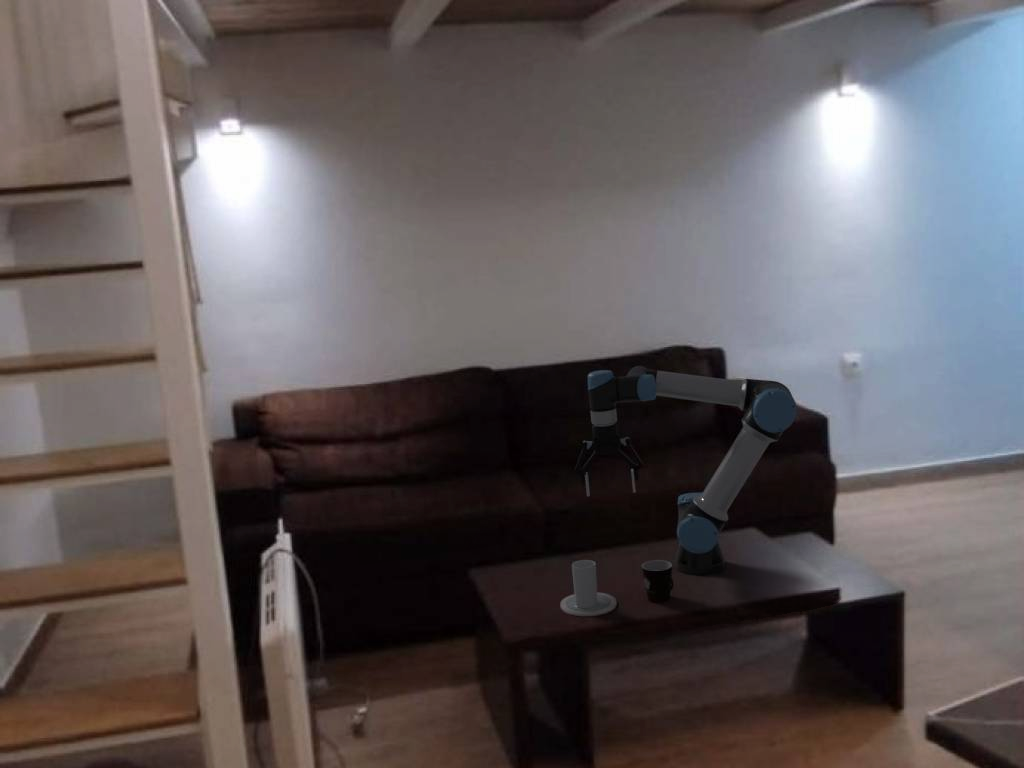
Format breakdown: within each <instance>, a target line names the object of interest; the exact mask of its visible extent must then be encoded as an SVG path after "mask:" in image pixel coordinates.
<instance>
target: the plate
mask: <svg viewBox="0 0 1024 768" xmlns="http://www.w3.org/2000/svg"><path fill="white" fill-rule="evenodd" d="M617 605H618V604H617V599H616V598H615V597H614V596H612V595H611V594H608V593H604V592H598V591H597V605H596V606H595V607H592V608H579V607H577V606H576V603H575V594H571V595H568V596H566V597H565V598H563V599H562V600H561V601H560V610H561V611H562V612H563V613H566V614H567V615H570V616H575V617H597V616H602V615H605V614H608V613H611V612H612V611H614V609H616V607H617Z"/></svg>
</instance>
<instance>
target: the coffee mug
mask: <svg viewBox="0 0 1024 768" xmlns="http://www.w3.org/2000/svg"><path fill="white" fill-rule="evenodd" d="M641 571H642V574H643V575H642V576H643V581H644V587H645V590H646V591H645V592H646V599H647V601H648V602H650V603H655V604H659V603H660V604H662V603H666V602H669V601H670V600H671V591H672V590H673V588H674V580H673V578H672V576H673V575H672V573H673V564H672V563H671V562H670V561H667V560H664V559H663V560H661V559H655V560H648V561H645V562H643V563H642V564H641Z"/></svg>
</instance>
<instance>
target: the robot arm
mask: <svg viewBox="0 0 1024 768" xmlns="http://www.w3.org/2000/svg"><path fill="white" fill-rule="evenodd" d="M587 392H588V400H589V401H588V402H589V408H590V409H589V410H590V419H591V420H590V422H591V424H592V426H591V428H592V429H591V430H592V441H591V440H590V441H589V440H587V439H586V440H583V441H582V450H581V452H580V455H579V457H578V460H577V463H576V465H575V468H574V474H579V475H580V479H581V485H582V486H585V489H586V497H590V495H591V493H590V484H589V474H588V473H589V472H587V471H588V470H589V469H590V467H591V466H592V464H593V463H594V461H595V460H596V459H597V458H598V457H599V455H601V456H607V455H609V456H611V455H614V454H616V455H617V456H619V457H620V459H622V460H623V461H624V462H625V463H626V464H627V465H628V466H629V467H630V468H631V469H630V473H631V474H630V475H631V484H632V493H635V494H636V492H637V491H636V483H635V482H636V481H638V480H639V473H638V471H639V469H642V468H644V462H643V461H642V460H641V458H640V456H639V454H638V453H637V452H636V450H635V449H634V447H633V446H632V443H631V439H630V436H626V437H624V438H620V437H619V425H618V423H617V422H618V415H617V405H616V403H617V404H618V403H619V404H620V403H632V402H646V401H653V400H656V398H657V396H658V397H666V398H672V399H673V398H674V399H678V400H679V399H680V400H688V401H694V402H696V401H697V402H703V403H710V404H719V405H726V406H733V407H738V408H739V410H741V411H745V414H743V417H742V418H741V423H742V428H741V430H740V432H739V433H738V435H737V436H736V438H735V440H734V442H733V443H732V445H731V446H730V448H729V450H728V451H727V453H726V455H725V456H724V458H723V459H722V462H720V464H719V466H718V467H717V469H716V470H715V472H714V474H713V475H712V477H711V479H710V481H709V482H708V483H707V484H706V487H705V488H704V491H702V492H689V493H684V494H681V495H679V496H678V498H677V509H678V519H677V527H676V537H677V540H678V542H679V545H678V548H677V552H676V555H675V561H674V563H675V569H676V570H677V571H679V572H681V573H684V574H690V575H710V574H716V573H719V572H721V571H723V570H724V569H725V567H726V559H725V556H724V553H723V550H722V548H721V545H720V542H719V535H720V533H721V532H722V530H723V528H724V526H725V525H726V523H727V522H728V520H729V514H728V510H729V508H730V507H731V505H732V504H733V502H734V500H735V498H736V497H737V496H738V494H739V493H740V491H741V489H742V488H743V486H744V485H745V483H746V481H747V480H748V478H749V476H750V475H751V473H752V472H753V470H754V468H755V467H756V466H757V464H758V462H759V461H760V459H761V458H762V456H763V454H764V453H765V451H766V450H767V449H768V447H769V445H770V444H771V443H774V442H778V441H779V439H780V437H781V436H782V435H783V432H784V431H786V430H787V429H788V428H790V427H791V425H792V424H793V423H794V420H795V419H796V416H797V415H796V414H797V403H796V400H795V399H794V397H793V394H792V392H791V391H790V389H789V387H787V386H786V385H785V384H783V383H782V382H779V381H776V380H769V379H768V380H765V379H754V378H744V379H743V380H734V379H727V378H721V377H720V378H719V377H718V378H717V377H711V376H710V377H709V376H702V375H696V374H695V375H694V374H687V373H680V372H679V373H678V372H671V371H664V370H654V369H648V368H647V367H645V366H641V365H640V366H639V365H638V366H634V367H633V368H631V369H630V370H629V371H628V372H627V373H626V376H614V373H613V371H612V370H610V369H609V370H608V369H606V370H605V369H604V370H603V369H602V370H600V369H599V370H595V371H592V372H591V371H590V372H589V373H588V374H587ZM621 444H623V446H626V448H627V450H628V451H629V453H630V454H631V456H632V458H633V459H634V460H635V461H633V460H632V459H631V458H630V457H629V456H628V455H627V454H626V453H624V452H623V451H622V449H621V448H620V445H621ZM591 446H592V447H593V448H594V451H593V453H592V454H591V456H590V457H589V459H587V461H586V462H585V464H584V466H583V467H582V468H581V466H582V464H583V462H584V459H585V456H586V455H587V451H588V449H590V448H591ZM635 462H636V463H635Z"/></svg>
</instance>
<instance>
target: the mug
mask: <svg viewBox="0 0 1024 768" xmlns="http://www.w3.org/2000/svg"><path fill="white" fill-rule="evenodd" d="M596 565H597V563H596V562H595V561H594V560H589V559H582V560H577V561H573V562H572V564H571V570H572V571H571V572H572V580H573V582H572V583H573V593H574V594H575V603H576V606H577V607H579V608H592V607H595V606H596V605H597V592H598V585H597V583H598V582H597V566H596Z"/></svg>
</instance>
